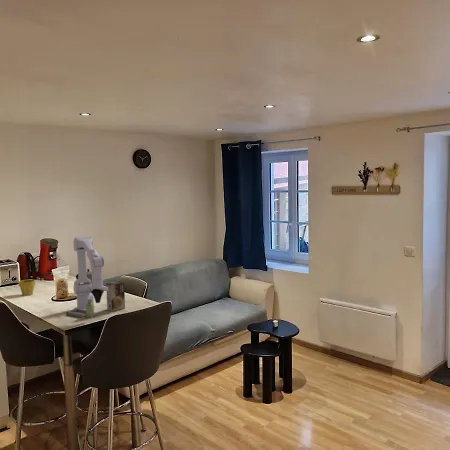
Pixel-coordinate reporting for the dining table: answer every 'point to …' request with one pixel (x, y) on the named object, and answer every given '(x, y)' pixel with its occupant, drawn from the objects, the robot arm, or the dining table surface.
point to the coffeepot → (89, 276)
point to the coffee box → (115, 296)
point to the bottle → (89, 309)
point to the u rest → (77, 313)
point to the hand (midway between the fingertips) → (97, 302)
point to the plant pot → (27, 287)
